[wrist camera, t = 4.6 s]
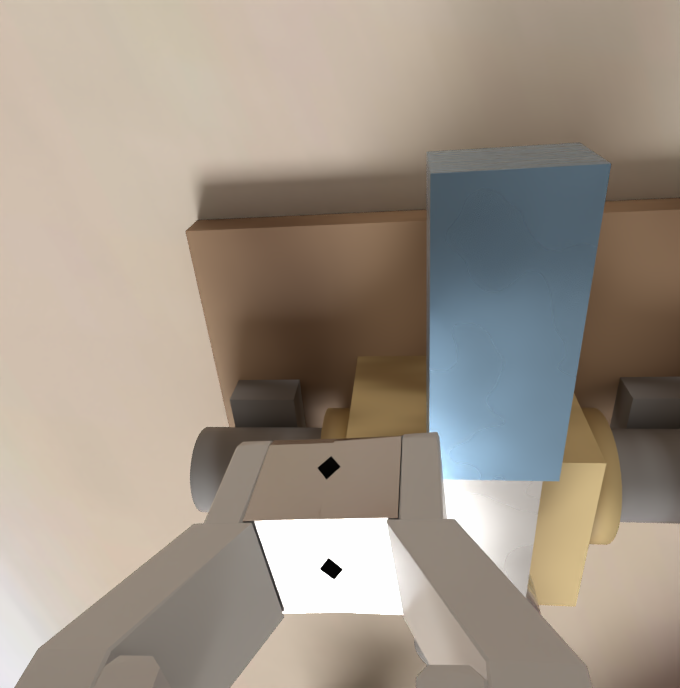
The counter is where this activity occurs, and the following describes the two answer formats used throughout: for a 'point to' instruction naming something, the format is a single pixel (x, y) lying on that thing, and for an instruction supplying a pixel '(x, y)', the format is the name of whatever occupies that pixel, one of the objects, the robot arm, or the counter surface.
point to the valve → (410, 359)
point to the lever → (507, 330)
